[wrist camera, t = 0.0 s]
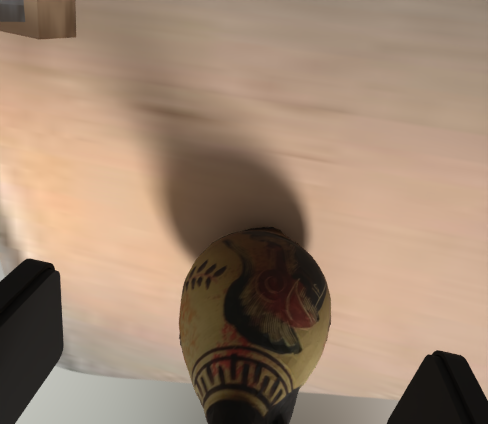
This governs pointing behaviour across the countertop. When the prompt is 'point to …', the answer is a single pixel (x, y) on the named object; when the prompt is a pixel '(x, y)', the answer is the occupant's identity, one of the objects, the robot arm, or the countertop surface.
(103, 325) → the countertop surface
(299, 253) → the ceramic jug
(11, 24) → the raised dock
